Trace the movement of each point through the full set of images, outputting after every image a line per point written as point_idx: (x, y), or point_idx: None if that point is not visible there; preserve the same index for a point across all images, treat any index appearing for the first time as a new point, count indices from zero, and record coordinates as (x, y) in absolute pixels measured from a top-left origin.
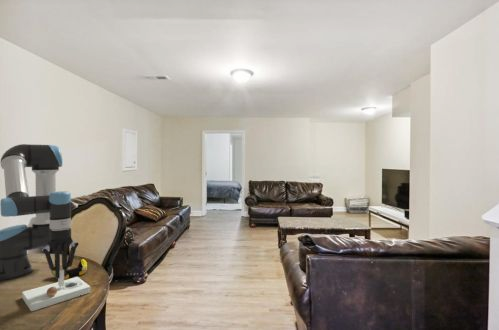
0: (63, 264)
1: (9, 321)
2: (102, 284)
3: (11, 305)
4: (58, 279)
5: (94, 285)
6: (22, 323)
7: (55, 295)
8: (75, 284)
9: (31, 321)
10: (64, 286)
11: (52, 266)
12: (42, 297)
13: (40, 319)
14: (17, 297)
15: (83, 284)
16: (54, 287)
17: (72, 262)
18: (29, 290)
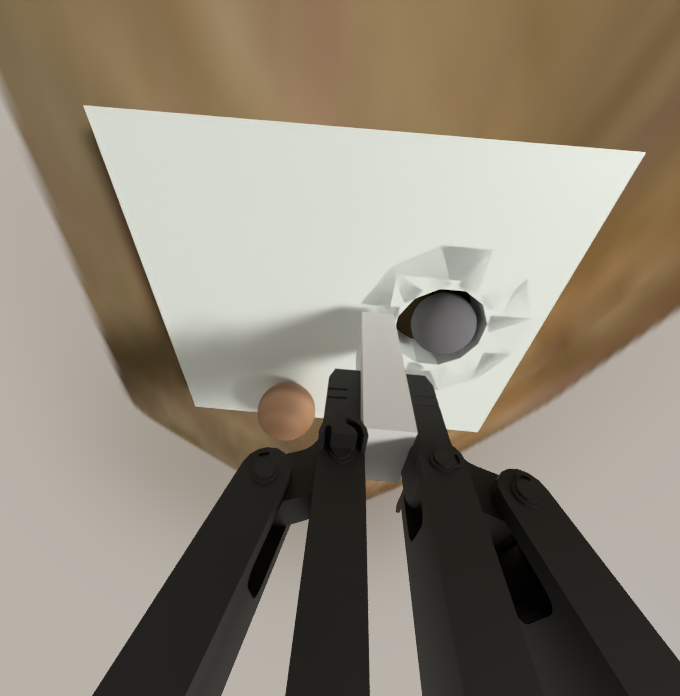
0: (410, 554)
1: (141, 394)
2: (584, 367)
3: (89, 216)
4: (361, 352)
5: (557, 344)
6: (189, 434)
7: None
8: (460, 349)
9: (215, 441)
10: (403, 308)
11: (256, 561)
12: (246, 373)
13: (240, 448)
14: (78, 34)
15: (485, 384)
16: (294, 437)
17: (529, 571)
18: (152, 137)
